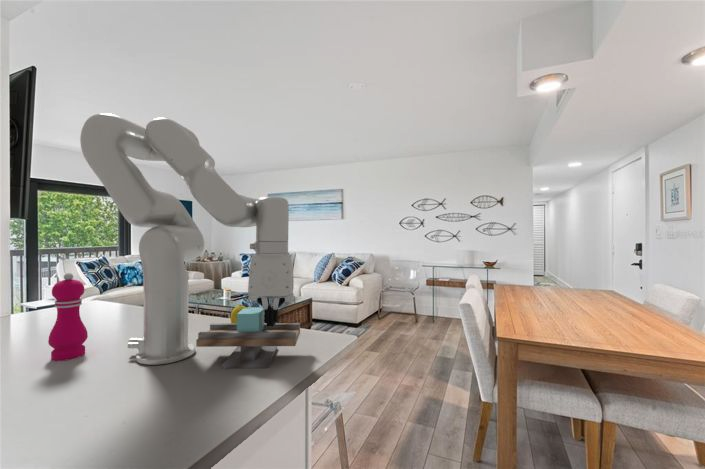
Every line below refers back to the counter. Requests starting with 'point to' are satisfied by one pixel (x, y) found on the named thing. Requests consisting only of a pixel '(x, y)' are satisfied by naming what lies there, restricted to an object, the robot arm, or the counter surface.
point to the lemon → (234, 313)
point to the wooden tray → (249, 342)
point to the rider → (250, 320)
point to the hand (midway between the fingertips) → (271, 324)
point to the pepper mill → (68, 320)
